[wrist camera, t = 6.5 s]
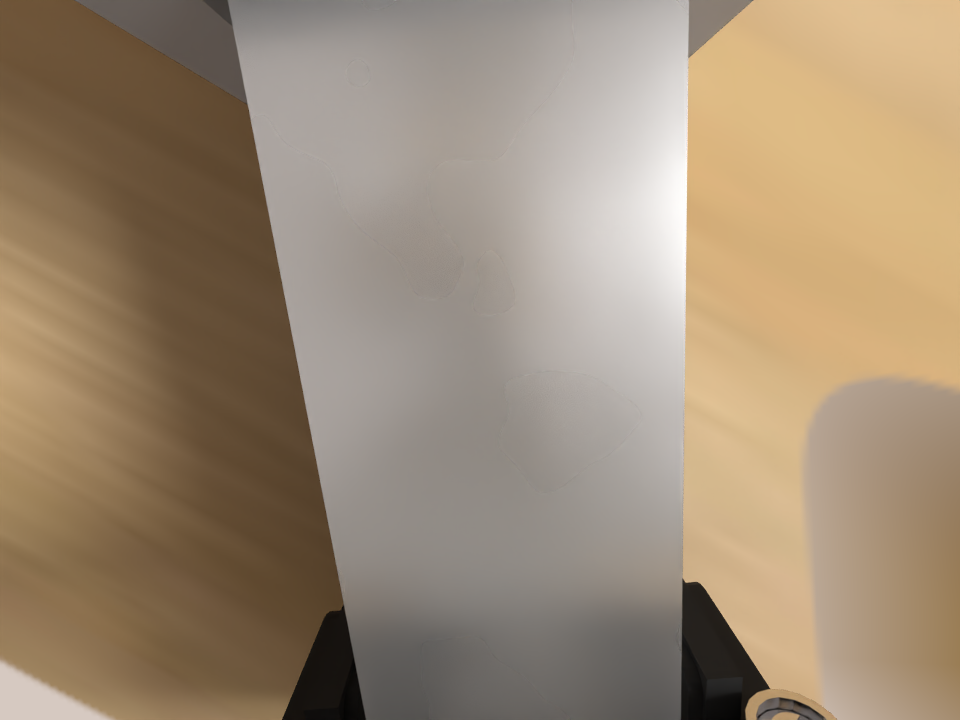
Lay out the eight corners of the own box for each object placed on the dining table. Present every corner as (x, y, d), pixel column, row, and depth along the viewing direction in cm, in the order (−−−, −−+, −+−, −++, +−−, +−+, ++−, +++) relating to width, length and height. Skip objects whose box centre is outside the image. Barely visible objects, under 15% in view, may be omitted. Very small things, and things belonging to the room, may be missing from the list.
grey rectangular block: (371, 89, 9) (181, -185, 3) (558, 70, 9) (701, -246, 3) (455, 708, 13) (434, 1098, 7) (588, 698, 13) (681, 1084, 7)
